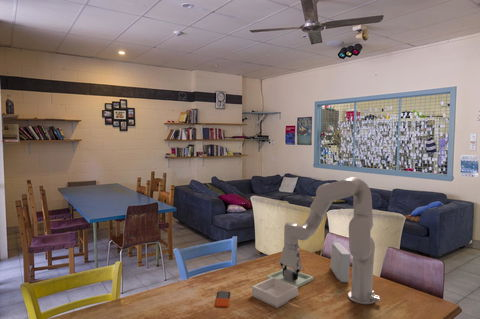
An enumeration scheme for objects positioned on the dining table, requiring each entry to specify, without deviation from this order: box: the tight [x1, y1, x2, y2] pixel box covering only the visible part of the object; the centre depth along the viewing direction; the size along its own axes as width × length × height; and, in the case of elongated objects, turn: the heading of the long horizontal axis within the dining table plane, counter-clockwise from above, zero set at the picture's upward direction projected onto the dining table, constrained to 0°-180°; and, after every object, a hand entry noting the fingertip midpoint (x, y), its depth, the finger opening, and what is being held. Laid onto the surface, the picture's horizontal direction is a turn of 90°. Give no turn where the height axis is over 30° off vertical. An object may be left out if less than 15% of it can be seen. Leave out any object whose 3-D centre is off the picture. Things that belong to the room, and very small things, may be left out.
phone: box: [214, 290, 231, 309], centre depth 158 cm, size 6×1×15 cm
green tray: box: [266, 266, 314, 289], centre depth 180 cm, size 18×18×2 cm
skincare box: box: [329, 242, 351, 283], centre depth 189 cm, size 21×6×16 cm, turn 179°
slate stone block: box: [284, 267, 294, 282], centre depth 180 cm, size 5×5×5 cm
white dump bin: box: [251, 277, 299, 309], centre depth 162 cm, size 16×16×5 cm
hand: (290, 277), depth 180 cm, fingers open, 6 cm apart
